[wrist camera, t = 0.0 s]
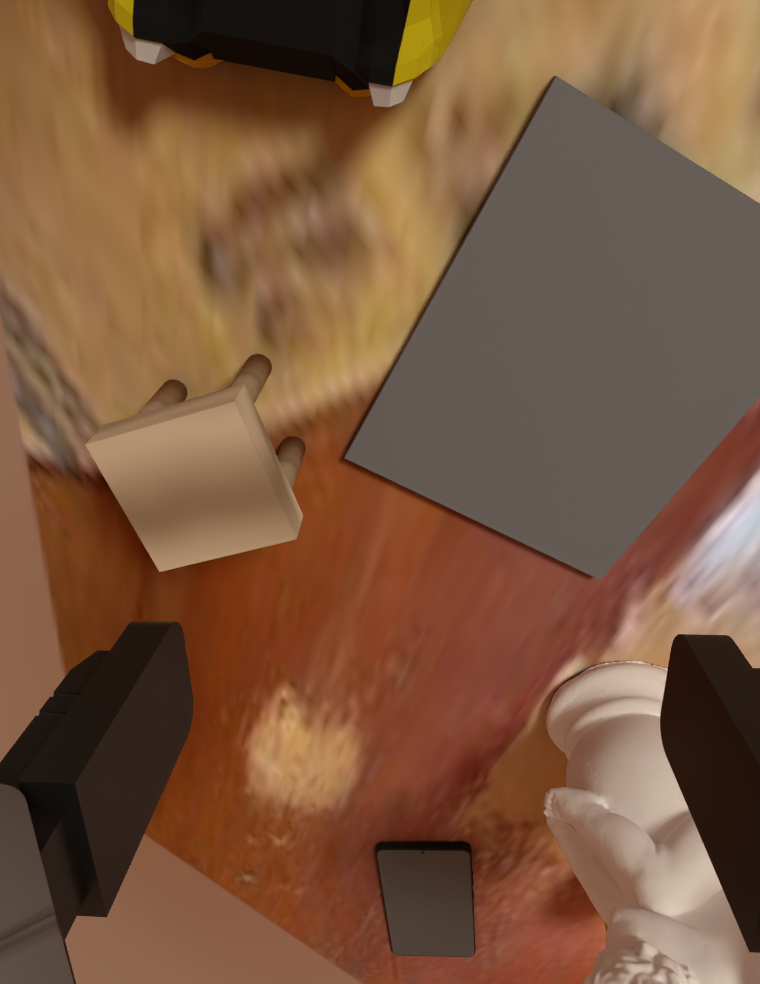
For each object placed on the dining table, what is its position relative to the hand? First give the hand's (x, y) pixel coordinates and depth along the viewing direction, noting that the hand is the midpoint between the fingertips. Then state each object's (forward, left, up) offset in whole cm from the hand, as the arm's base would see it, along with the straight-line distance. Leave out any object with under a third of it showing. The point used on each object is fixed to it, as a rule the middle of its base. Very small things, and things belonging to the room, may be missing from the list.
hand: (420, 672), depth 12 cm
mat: (-1, +8, -22) cm, 24 cm away
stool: (+9, -5, -22) cm, 25 cm away
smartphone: (+40, +23, -23) cm, 52 cm away
